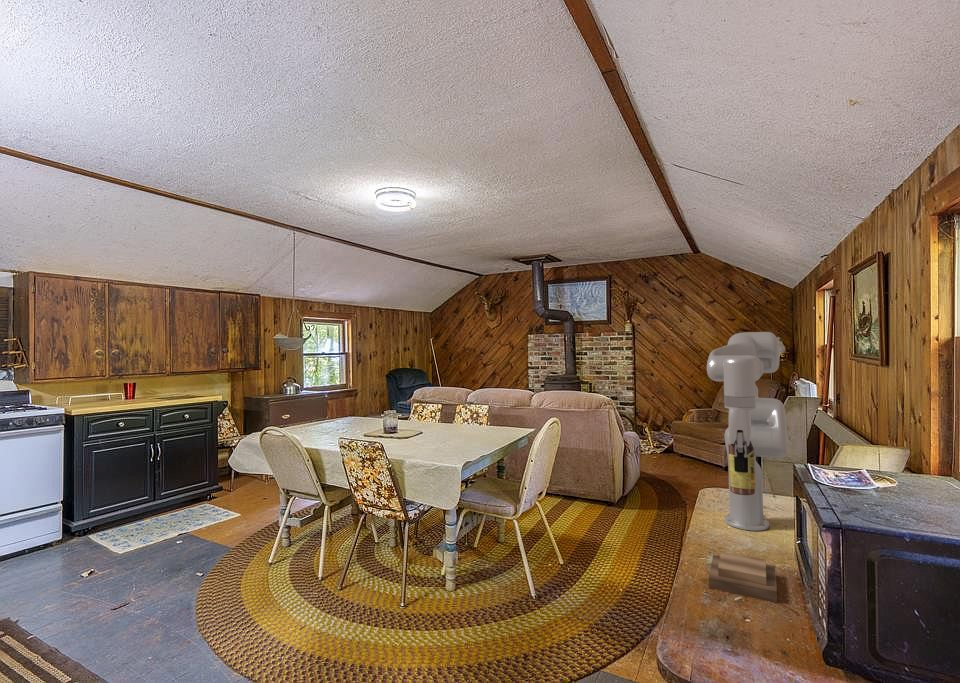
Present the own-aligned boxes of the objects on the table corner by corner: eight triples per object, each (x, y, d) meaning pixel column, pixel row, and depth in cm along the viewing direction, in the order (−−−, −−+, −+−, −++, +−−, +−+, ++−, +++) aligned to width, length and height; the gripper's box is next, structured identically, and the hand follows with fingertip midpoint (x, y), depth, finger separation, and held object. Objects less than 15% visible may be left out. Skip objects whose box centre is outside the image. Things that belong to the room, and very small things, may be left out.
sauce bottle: (757, 497, 127) (755, 421, 127) (731, 495, 129) (729, 420, 129) (753, 490, 133) (751, 417, 133) (727, 488, 135) (725, 417, 135)
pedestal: (713, 564, 128) (713, 547, 128) (775, 575, 121) (774, 557, 121) (708, 588, 116) (708, 569, 116) (777, 602, 109) (776, 582, 109)
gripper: (726, 398, 140) (727, 460, 140) (722, 405, 125) (724, 475, 125) (755, 399, 136) (757, 463, 136) (755, 407, 122) (757, 478, 121)
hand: (741, 468), depth 131 cm, fingers closed on sauce bottle, 6 cm apart
